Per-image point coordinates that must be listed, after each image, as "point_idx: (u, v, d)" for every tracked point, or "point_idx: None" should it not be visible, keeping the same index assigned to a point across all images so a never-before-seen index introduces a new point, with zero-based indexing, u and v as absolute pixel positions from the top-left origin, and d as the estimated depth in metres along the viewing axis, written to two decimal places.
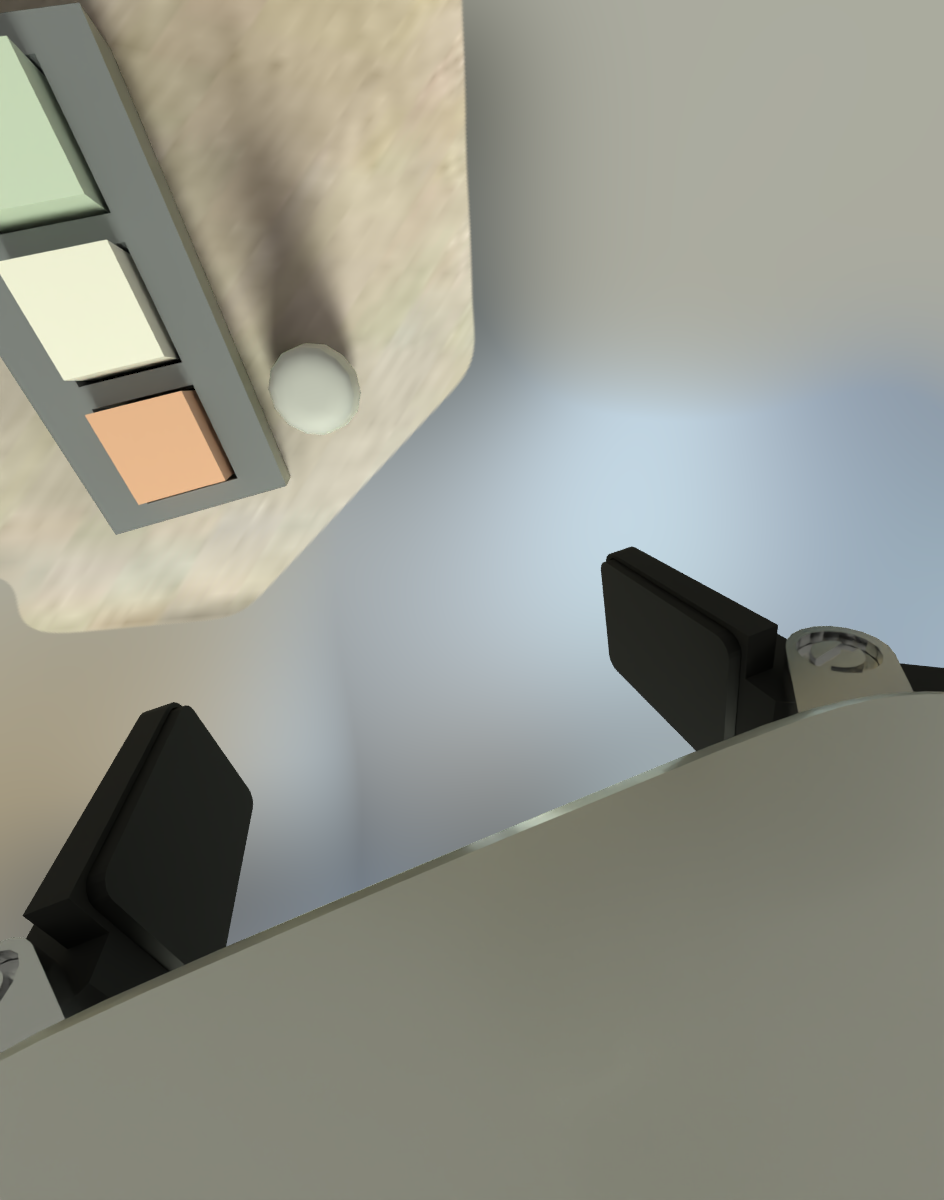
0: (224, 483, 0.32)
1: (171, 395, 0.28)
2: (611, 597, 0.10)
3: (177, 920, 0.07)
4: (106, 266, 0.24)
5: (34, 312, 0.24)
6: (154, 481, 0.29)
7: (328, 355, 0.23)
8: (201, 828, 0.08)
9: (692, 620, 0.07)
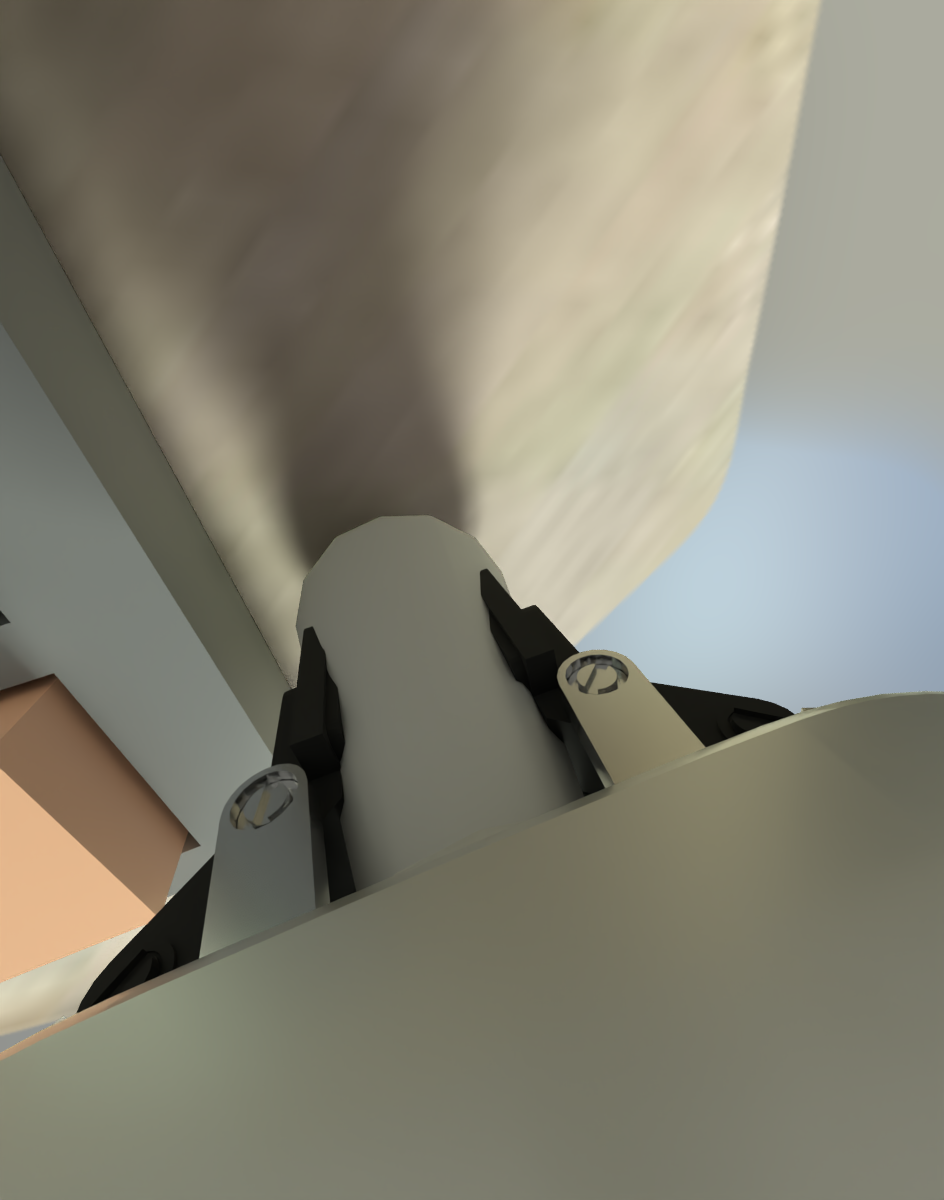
0: None
1: None
2: None
3: None
4: None
5: None
6: None
7: None
8: None
9: (497, 642, 0.08)
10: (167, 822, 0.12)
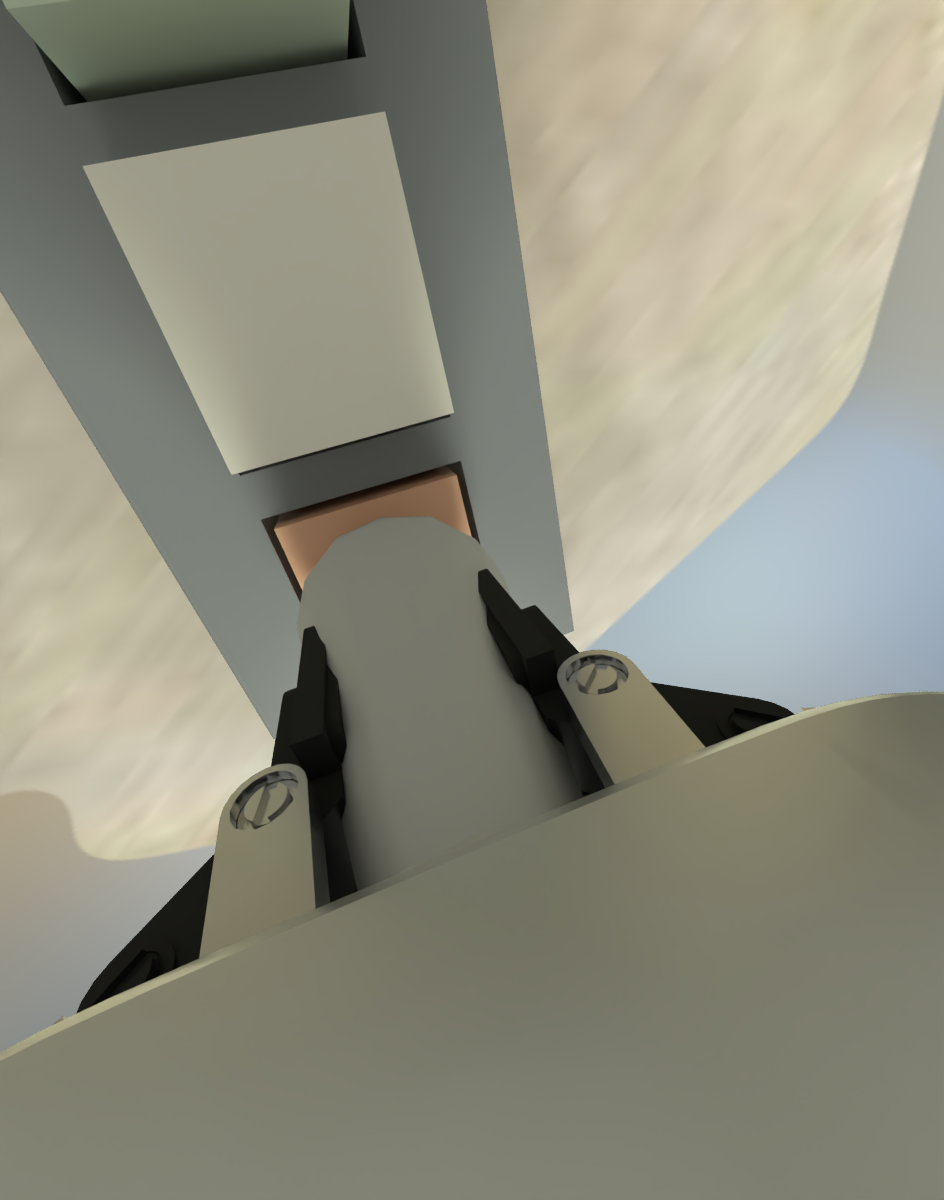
0: None
1: (437, 484, 0.14)
2: None
3: None
4: (371, 188, 0.09)
5: (180, 310, 0.09)
6: None
7: None
8: None
9: (497, 642, 0.08)
10: None
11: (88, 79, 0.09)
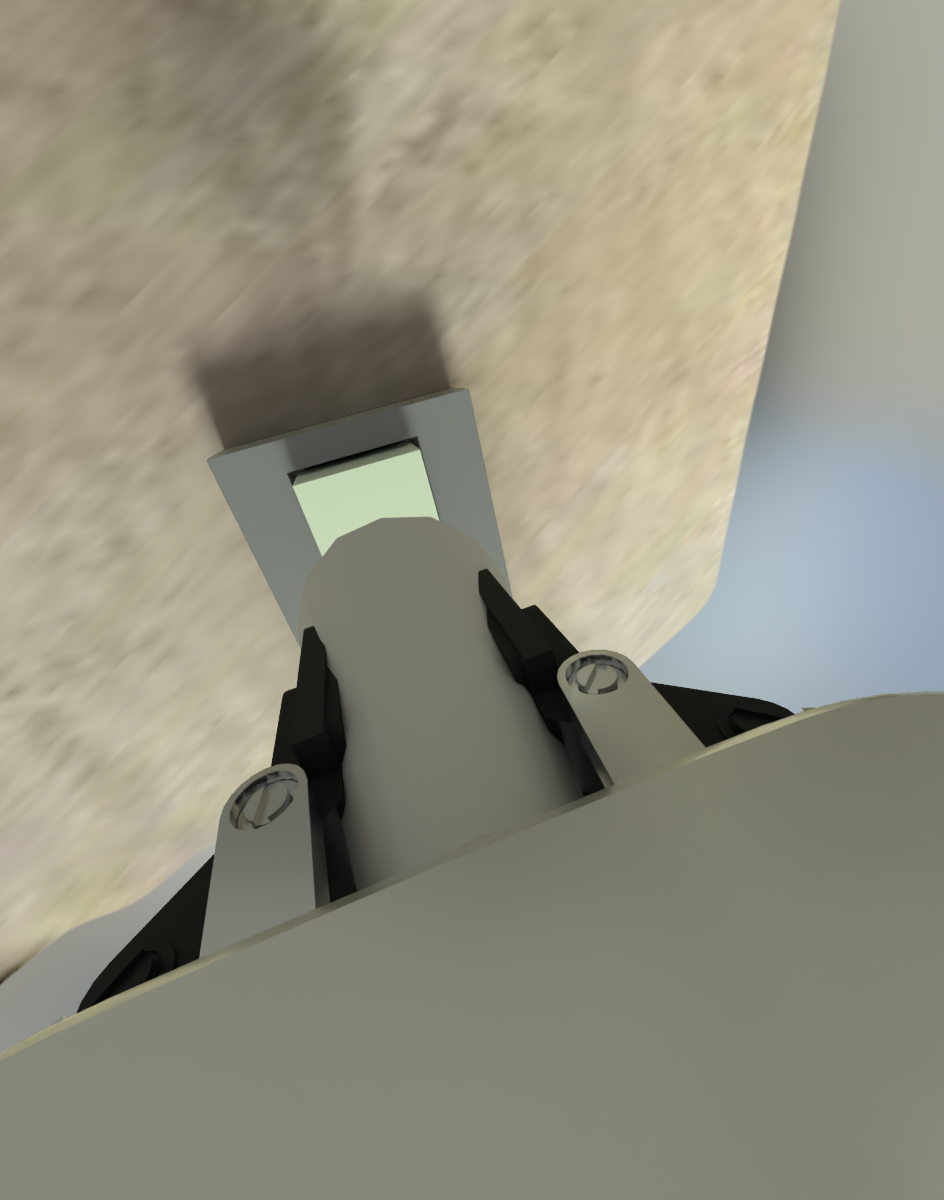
0: None
1: None
2: None
3: None
4: None
5: None
6: None
7: None
8: None
9: (498, 642, 0.08)
10: None
11: None
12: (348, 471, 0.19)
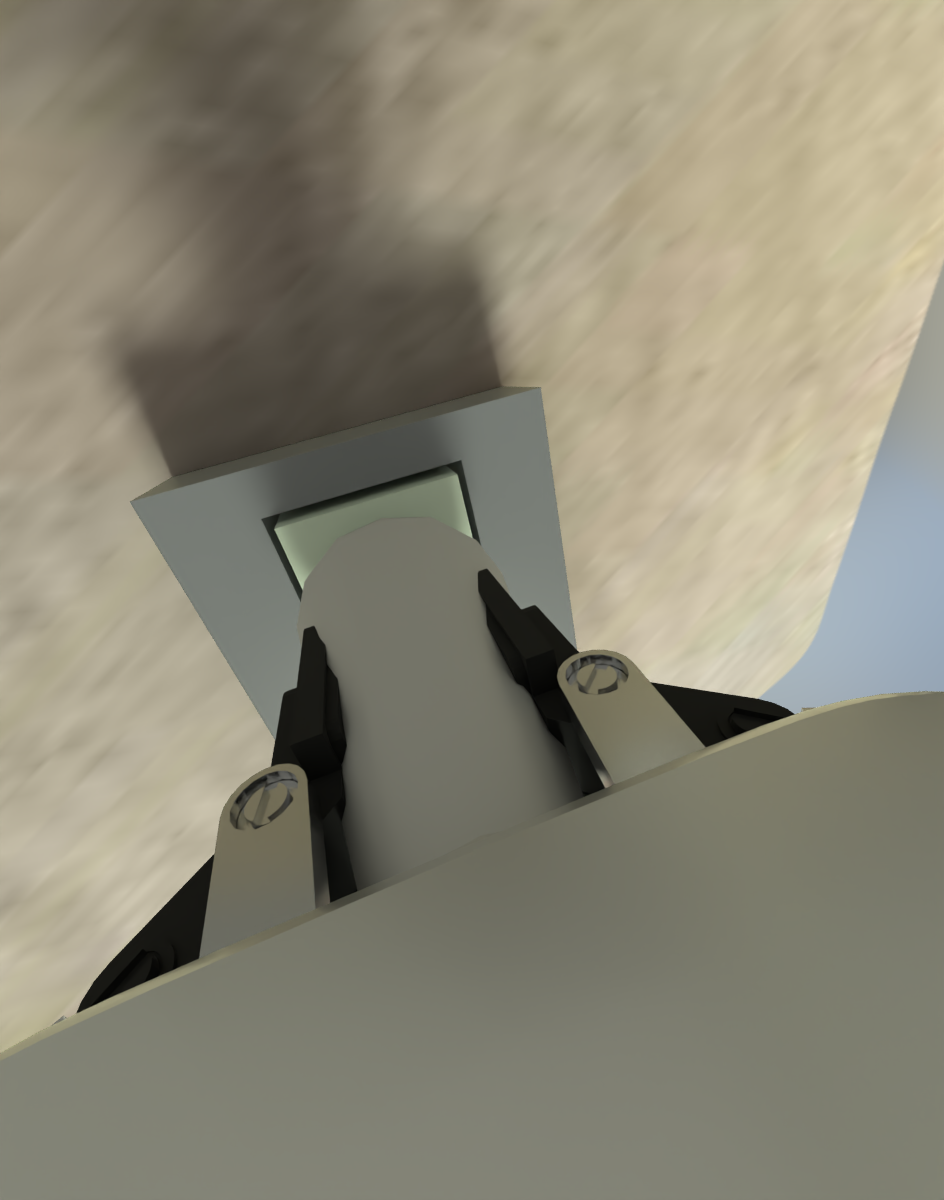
0: None
1: None
2: None
3: None
4: None
5: None
6: None
7: None
8: None
9: (497, 642, 0.08)
10: None
11: None
12: (355, 506, 0.13)
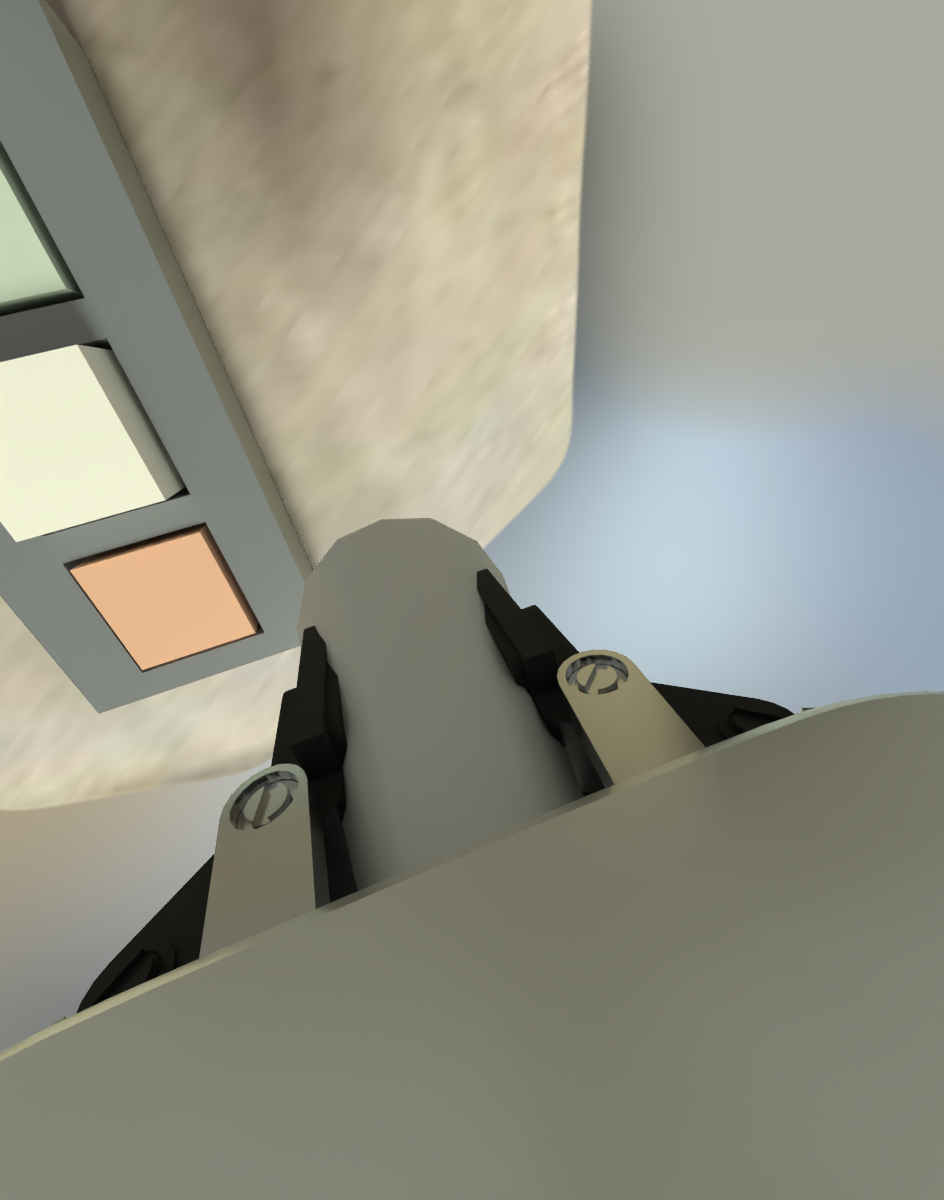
0: (246, 640, 0.24)
1: (186, 538, 0.20)
2: None
3: None
4: (77, 382, 0.16)
5: None
6: (163, 640, 0.22)
7: None
8: None
9: (498, 642, 0.08)
10: None
11: None
12: None
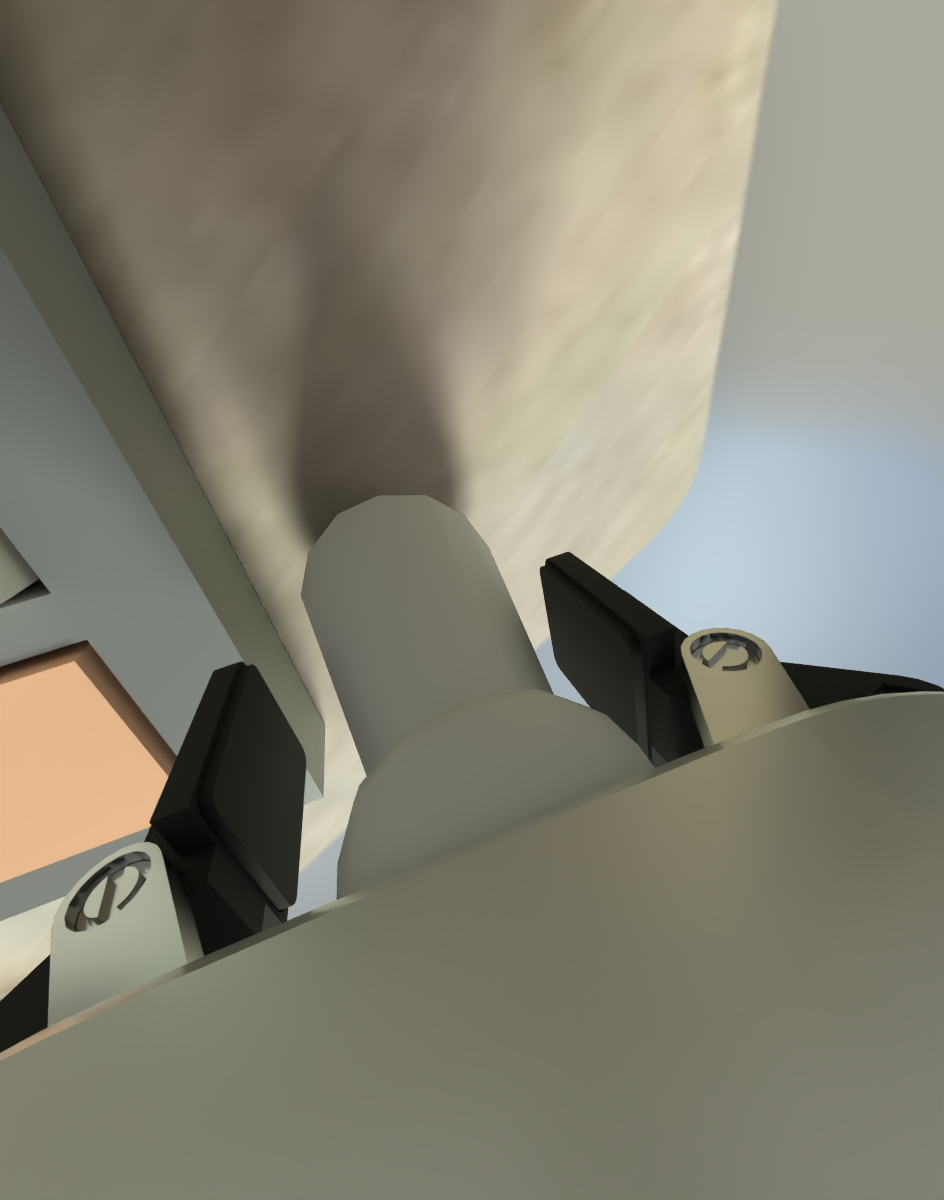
0: None
1: (48, 674, 0.11)
2: (549, 600, 0.11)
3: (263, 843, 0.07)
4: None
5: None
6: (24, 839, 0.12)
7: None
8: (272, 771, 0.09)
9: (605, 622, 0.08)
10: None
11: None
12: None
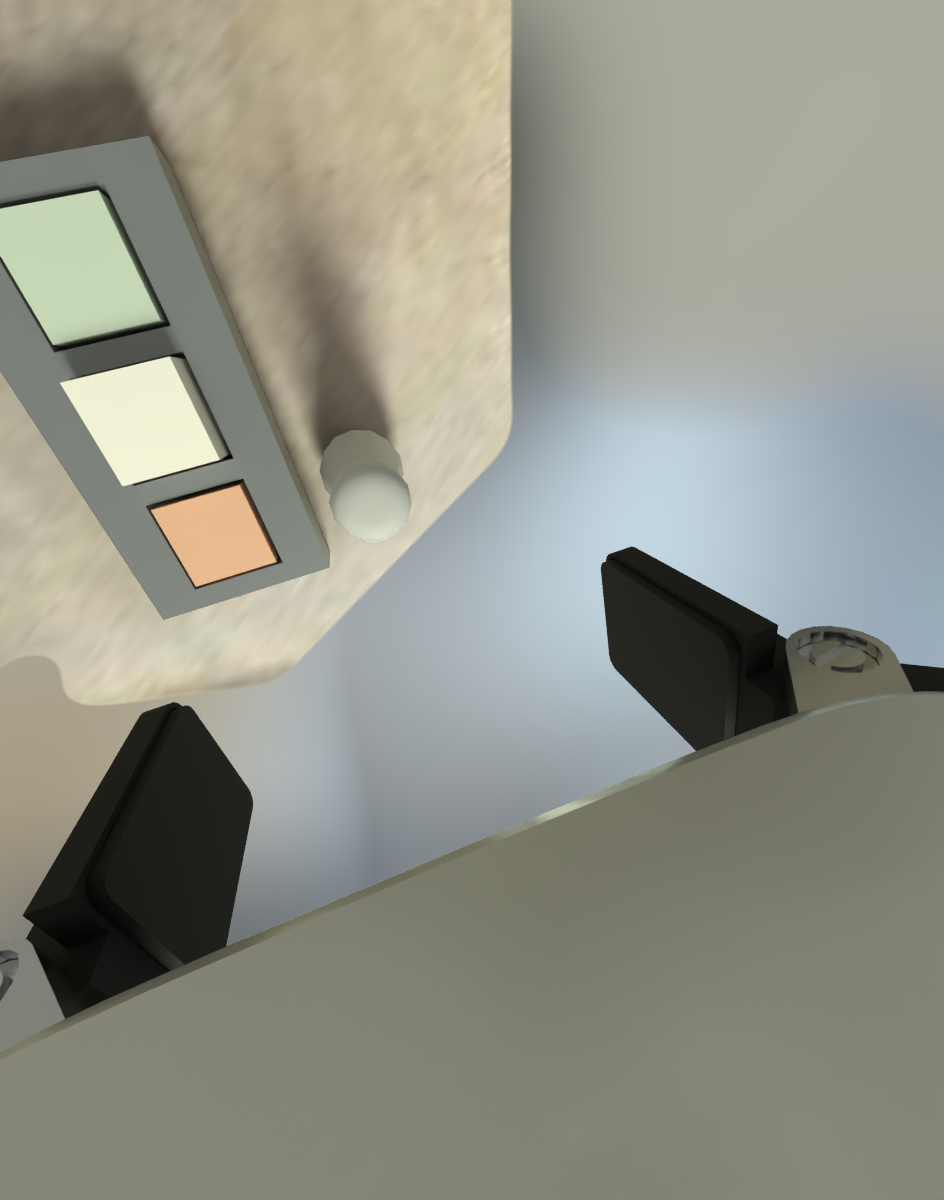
0: (270, 568, 0.33)
1: (230, 489, 0.29)
2: (611, 597, 0.10)
3: (177, 920, 0.07)
4: (168, 380, 0.25)
5: (97, 426, 0.25)
6: (211, 565, 0.31)
7: (389, 471, 0.23)
8: (201, 828, 0.08)
9: (692, 620, 0.07)
10: None
11: (77, 345, 0.26)
12: (29, 204, 0.22)
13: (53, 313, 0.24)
